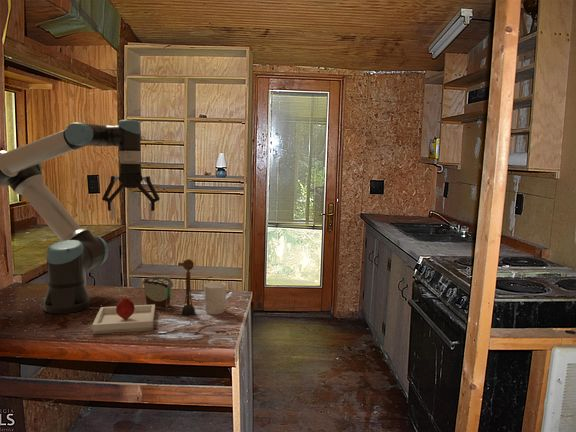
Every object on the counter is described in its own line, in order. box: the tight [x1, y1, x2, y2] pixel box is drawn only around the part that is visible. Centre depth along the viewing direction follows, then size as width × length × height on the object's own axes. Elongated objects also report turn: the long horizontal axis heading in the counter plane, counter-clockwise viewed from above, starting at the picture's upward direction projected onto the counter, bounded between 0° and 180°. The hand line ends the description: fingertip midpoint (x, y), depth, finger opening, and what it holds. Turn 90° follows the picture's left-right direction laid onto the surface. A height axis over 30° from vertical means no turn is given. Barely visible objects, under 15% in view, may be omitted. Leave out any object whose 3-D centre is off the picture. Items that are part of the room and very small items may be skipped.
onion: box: [116, 296, 135, 320], centre depth 148 cm, size 6×6×8 cm
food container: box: [142, 276, 174, 310], centre depth 166 cm, size 12×6×10 cm, turn 65°
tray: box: [91, 304, 156, 335], centre depth 149 cm, size 18×16×3 cm
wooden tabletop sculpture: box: [177, 258, 196, 317], centre depth 157 cm, size 6×5×20 cm
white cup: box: [203, 281, 227, 315], centre depth 161 cm, size 8×8×10 cm
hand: (131, 219), depth 168 cm, fingers open, 13 cm apart
